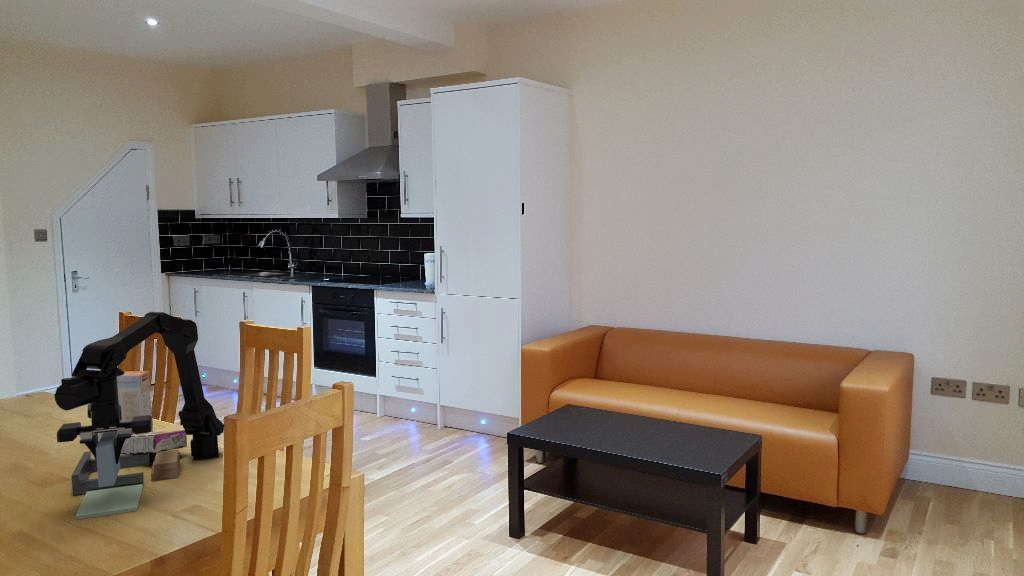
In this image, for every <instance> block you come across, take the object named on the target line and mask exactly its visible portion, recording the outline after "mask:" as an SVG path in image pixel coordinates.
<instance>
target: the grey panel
mask: <svg viewBox="0 0 1024 576" xmlns="http://www.w3.org/2000/svg"><path fill="white" fill-rule="evenodd" d="M117 435H118V431H114V432H104V433H103V435H102V437H101V439H100V441H99V443H98V445H97V447H96V458H97V471H96V472H97V478H98V485H99V487H105V486H113V485H114V484H115V481H116V478H117V476H118V475H119V473H120V470H121V468H120V458H119V462H118V464H116V460H115V454H116V437H117Z"/></svg>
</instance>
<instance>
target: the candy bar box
mask: <svg viewBox="0 0 1024 576" xmlns="http://www.w3.org/2000/svg"><path fill="white" fill-rule="evenodd" d="M187 439H188V437H187V435H186V432H185V429H183V430H179V429H177V430H169V431H168V430H166V431H163V430H162V431H153V432H149V433H141V434H132V436H131V438H128V439H126V440H125V442H124V444H123V447H122V451H121V455H129V454H138V453H149V454H152V453H153V454H155V453H157V452H164V451H172V450H179V449H183V448H187V447H188V441H187Z"/></svg>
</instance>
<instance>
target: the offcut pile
mask: <svg viewBox="0 0 1024 576" xmlns="http://www.w3.org/2000/svg"><path fill="white" fill-rule="evenodd" d="M180 456H181V455H180V454H179V449H173V450H168V451H162V452H156V454H155V457H154V459H153V463H152V468H151V472H150V480H151V482H156V480H157V481H164V480H165V481H166V480H171V479H178V478H179V472H180V470H179V469H180V464H181V463H180V462H181V460H180V459H181V457H180Z"/></svg>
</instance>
